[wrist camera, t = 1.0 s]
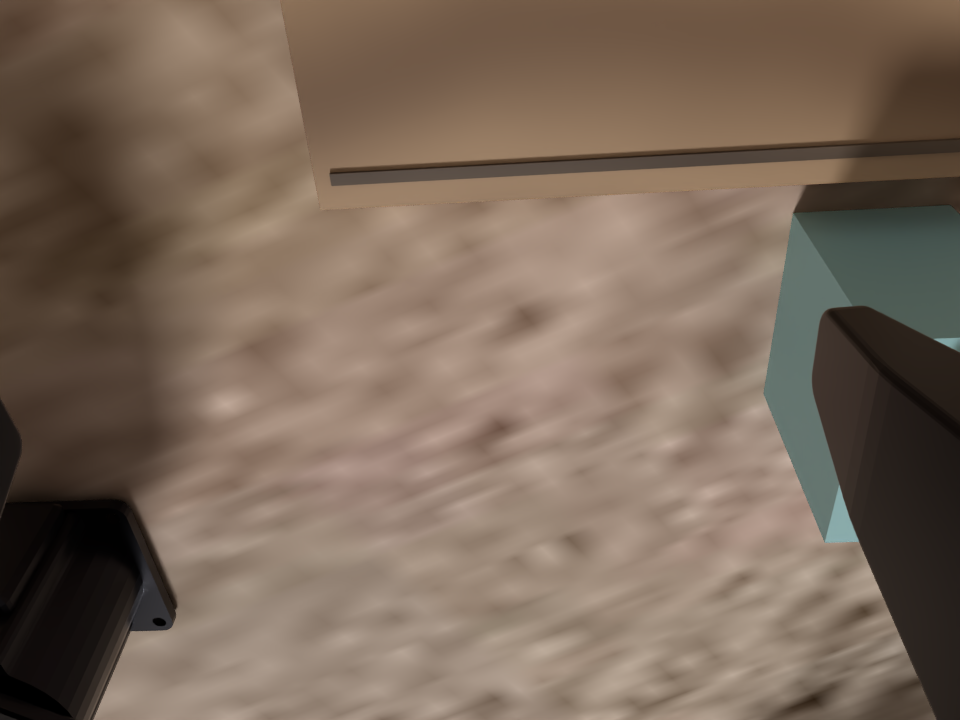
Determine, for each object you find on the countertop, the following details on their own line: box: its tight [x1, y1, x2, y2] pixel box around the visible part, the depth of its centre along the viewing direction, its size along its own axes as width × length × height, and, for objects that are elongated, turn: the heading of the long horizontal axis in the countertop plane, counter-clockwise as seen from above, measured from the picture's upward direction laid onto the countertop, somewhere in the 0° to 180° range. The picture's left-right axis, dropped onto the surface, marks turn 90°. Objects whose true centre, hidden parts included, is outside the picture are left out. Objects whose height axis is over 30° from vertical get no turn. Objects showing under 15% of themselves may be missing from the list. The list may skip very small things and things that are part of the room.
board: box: [280, 0, 960, 210], centre depth 19 cm, size 6×18×2 cm, turn 94°
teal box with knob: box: [764, 205, 960, 543], centre depth 21 cm, size 6×4×7 cm, turn 4°
